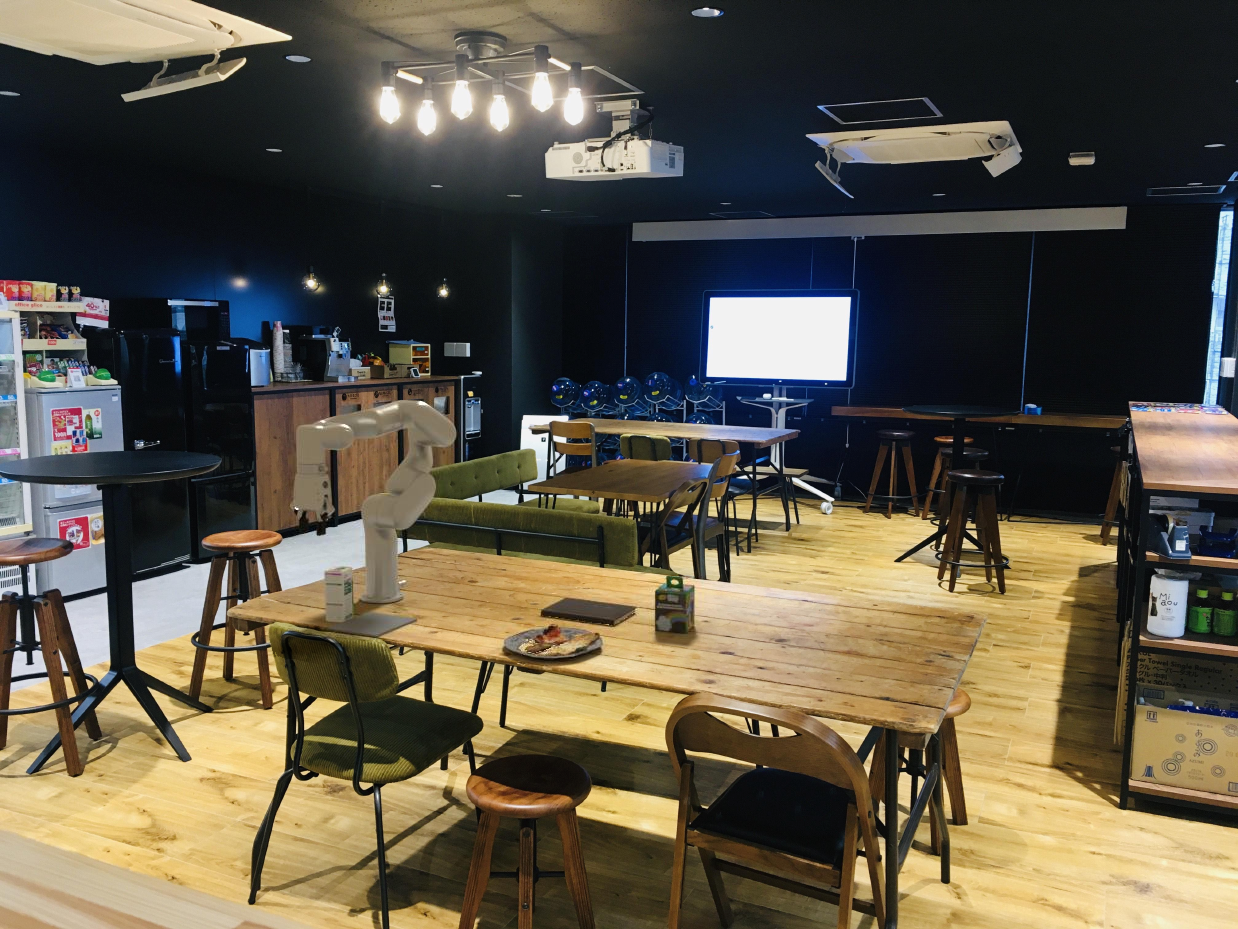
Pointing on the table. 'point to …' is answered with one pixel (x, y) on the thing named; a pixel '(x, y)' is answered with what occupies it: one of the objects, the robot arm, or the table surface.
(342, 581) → the syrup box
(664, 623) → the chalk box
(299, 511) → the robot arm
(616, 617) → the hardcover book
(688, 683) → the table surface
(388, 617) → the rubber mat
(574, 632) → the food plate
